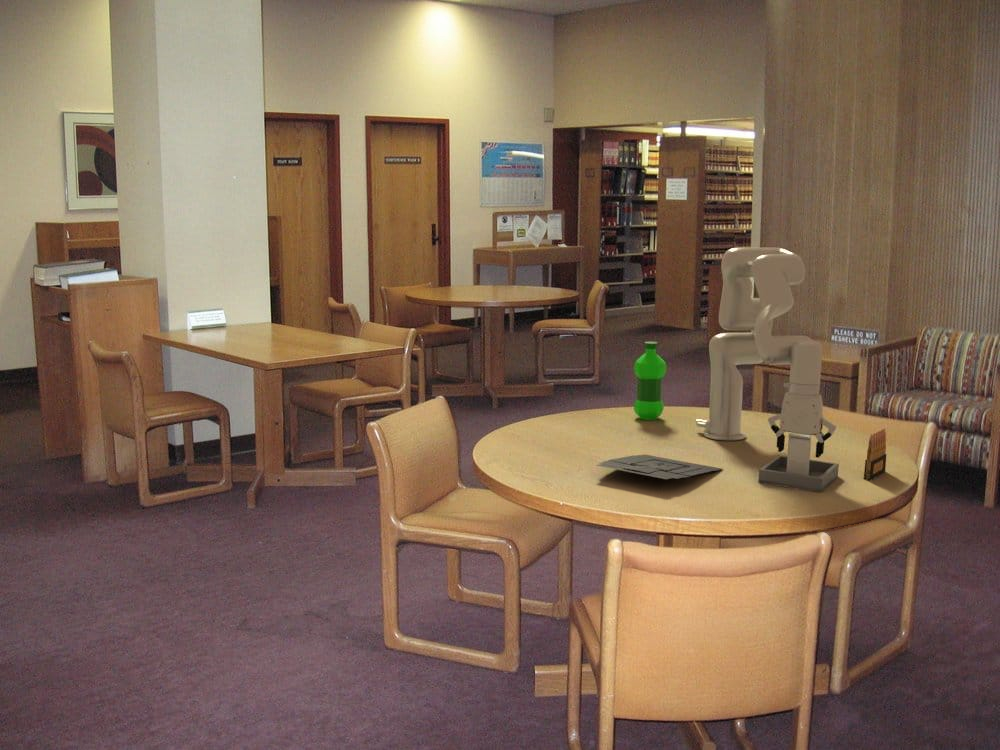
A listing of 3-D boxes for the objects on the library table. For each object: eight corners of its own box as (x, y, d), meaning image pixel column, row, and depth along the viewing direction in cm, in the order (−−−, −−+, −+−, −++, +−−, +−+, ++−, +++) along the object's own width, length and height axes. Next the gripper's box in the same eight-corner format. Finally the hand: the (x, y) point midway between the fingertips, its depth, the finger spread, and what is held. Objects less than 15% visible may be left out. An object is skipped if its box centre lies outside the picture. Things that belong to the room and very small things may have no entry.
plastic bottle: (665, 415, 342) (667, 340, 338) (662, 422, 332) (665, 345, 328) (634, 414, 345) (637, 339, 340) (631, 421, 335) (633, 344, 330)
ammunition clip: (878, 470, 279) (881, 427, 277) (885, 472, 278) (888, 428, 276) (863, 479, 271) (866, 434, 269) (870, 480, 270) (874, 435, 268)
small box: (808, 481, 265) (811, 441, 263) (785, 479, 267) (788, 439, 265) (808, 473, 273) (811, 434, 271) (786, 471, 274) (788, 432, 273)
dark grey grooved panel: (587, 474, 269) (588, 460, 269) (643, 463, 293) (644, 451, 293) (672, 491, 255) (673, 477, 254) (723, 478, 279) (724, 465, 278)
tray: (758, 482, 267) (759, 469, 266) (777, 467, 281) (778, 455, 280) (821, 492, 259) (822, 479, 258) (837, 476, 273) (838, 463, 272)
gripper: (766, 387, 267) (762, 451, 270) (835, 395, 258) (829, 462, 261) (774, 382, 273) (770, 445, 276) (842, 390, 264) (837, 455, 268)
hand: (799, 453), depth 269 cm, fingers open, 9 cm apart
